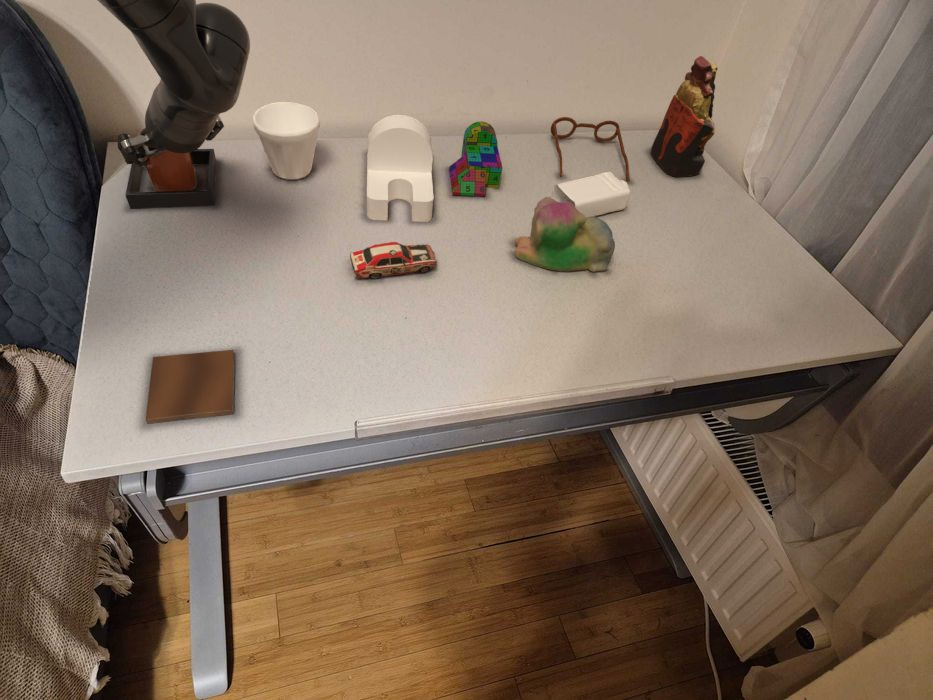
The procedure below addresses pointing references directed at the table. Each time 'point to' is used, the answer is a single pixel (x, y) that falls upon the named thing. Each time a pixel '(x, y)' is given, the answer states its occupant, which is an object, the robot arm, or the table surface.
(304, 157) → the cup
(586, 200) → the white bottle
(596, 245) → the sculpture
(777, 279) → the table surface
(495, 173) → the multicoloured toy chair
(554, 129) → the glasses
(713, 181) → the table surface
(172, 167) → the terracotta cup
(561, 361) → the table surface
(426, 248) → the race car
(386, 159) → the bracket
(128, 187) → the dark grey square frame
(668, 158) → the statue
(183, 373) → the walnut board
